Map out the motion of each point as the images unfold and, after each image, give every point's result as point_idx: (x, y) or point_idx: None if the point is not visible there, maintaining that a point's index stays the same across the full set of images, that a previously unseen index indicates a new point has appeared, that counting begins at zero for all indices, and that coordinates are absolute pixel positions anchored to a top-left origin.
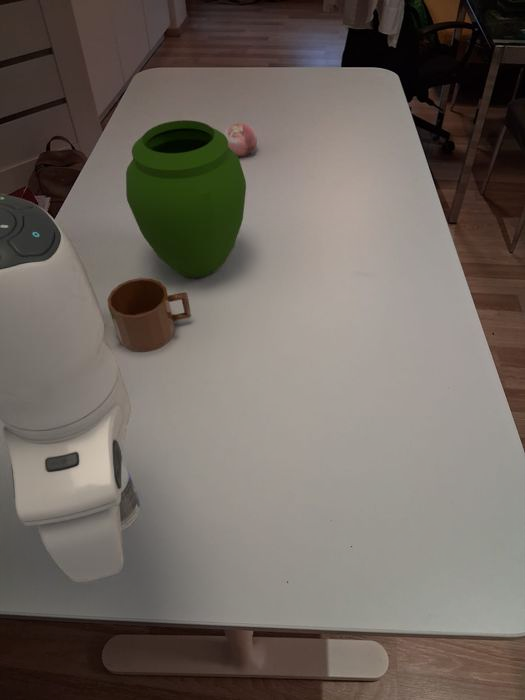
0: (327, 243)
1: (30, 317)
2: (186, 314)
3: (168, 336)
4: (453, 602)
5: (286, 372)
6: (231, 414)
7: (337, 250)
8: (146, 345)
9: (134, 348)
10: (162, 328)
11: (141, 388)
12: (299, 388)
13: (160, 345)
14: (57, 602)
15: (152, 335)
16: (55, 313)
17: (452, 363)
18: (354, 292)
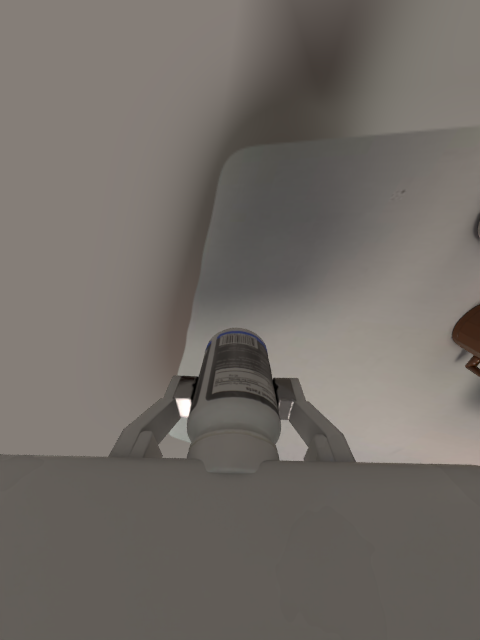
0: (444, 446)
1: None
2: (472, 368)
3: (459, 344)
4: (180, 423)
5: (349, 403)
6: (336, 368)
7: (431, 448)
8: (468, 326)
9: (475, 312)
10: (476, 351)
11: (415, 310)
12: (331, 405)
13: (454, 334)
14: (220, 214)
15: (476, 341)
16: None
17: (302, 459)
18: (385, 444)
